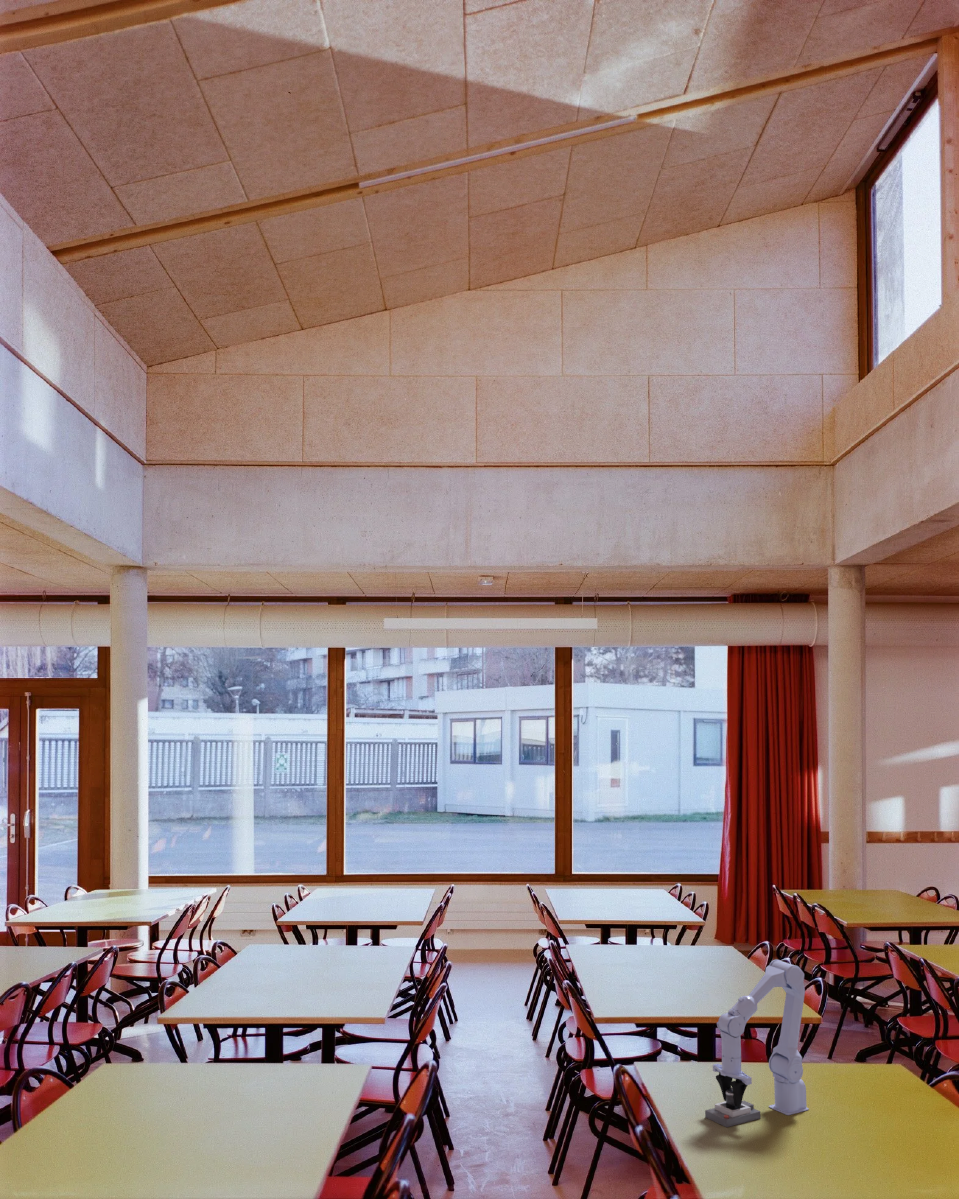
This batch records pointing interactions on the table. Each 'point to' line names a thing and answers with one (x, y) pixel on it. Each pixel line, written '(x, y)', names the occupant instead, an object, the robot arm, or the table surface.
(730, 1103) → the lens
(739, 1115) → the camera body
